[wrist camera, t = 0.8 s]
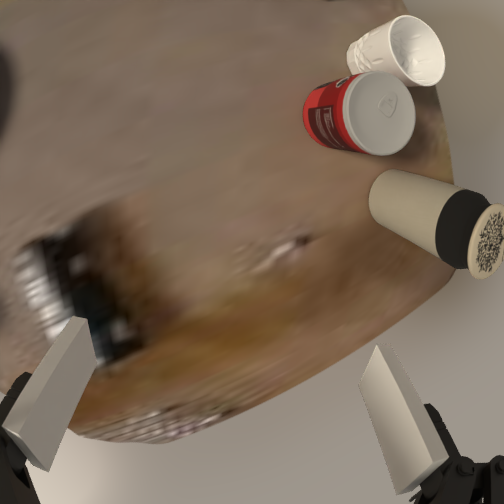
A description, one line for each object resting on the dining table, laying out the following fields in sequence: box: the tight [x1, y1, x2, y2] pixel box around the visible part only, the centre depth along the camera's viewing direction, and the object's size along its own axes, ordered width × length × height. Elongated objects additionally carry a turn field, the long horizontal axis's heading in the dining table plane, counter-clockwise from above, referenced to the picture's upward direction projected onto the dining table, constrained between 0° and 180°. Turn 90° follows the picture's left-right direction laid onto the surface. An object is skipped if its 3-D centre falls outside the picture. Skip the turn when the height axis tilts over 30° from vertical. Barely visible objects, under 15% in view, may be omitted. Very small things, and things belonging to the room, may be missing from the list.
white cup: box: [347, 15, 445, 87], centre depth 26 cm, size 8×8×10 cm
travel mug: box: [369, 169, 504, 280], centre depth 30 cm, size 8×8×18 cm
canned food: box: [303, 71, 416, 156], centre depth 28 cm, size 8×8×11 cm
